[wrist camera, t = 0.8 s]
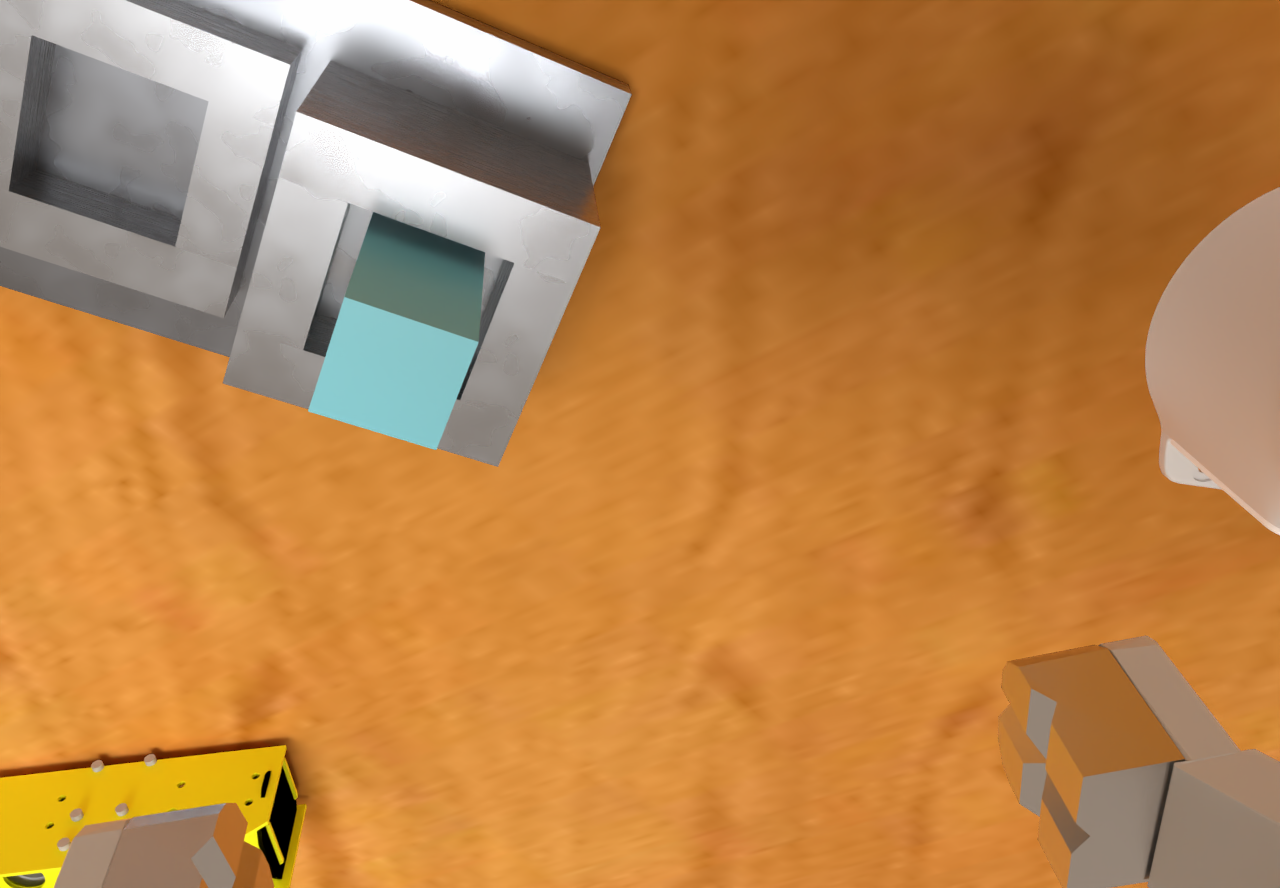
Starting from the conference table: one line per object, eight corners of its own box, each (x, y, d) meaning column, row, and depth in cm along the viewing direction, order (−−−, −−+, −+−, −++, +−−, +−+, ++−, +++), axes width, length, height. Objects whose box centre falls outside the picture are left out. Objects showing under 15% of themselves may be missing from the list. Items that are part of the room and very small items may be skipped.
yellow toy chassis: (22, 834, 60) (-45, 975, 53) (-18, 764, 57) (-94, 904, 50) (310, 800, 61) (283, 935, 54) (287, 729, 58) (254, 862, 51)
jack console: (628, 84, 41) (650, 149, 34) (489, 420, 49) (483, 531, 41) (12, -178, 35) (-118, -166, 28) (-42, 252, 42) (-157, 349, 35)
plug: (486, 242, 38) (478, 342, 32) (450, 336, 40) (436, 450, 34) (376, 202, 37) (344, 297, 31) (344, 301, 39) (307, 411, 32)
